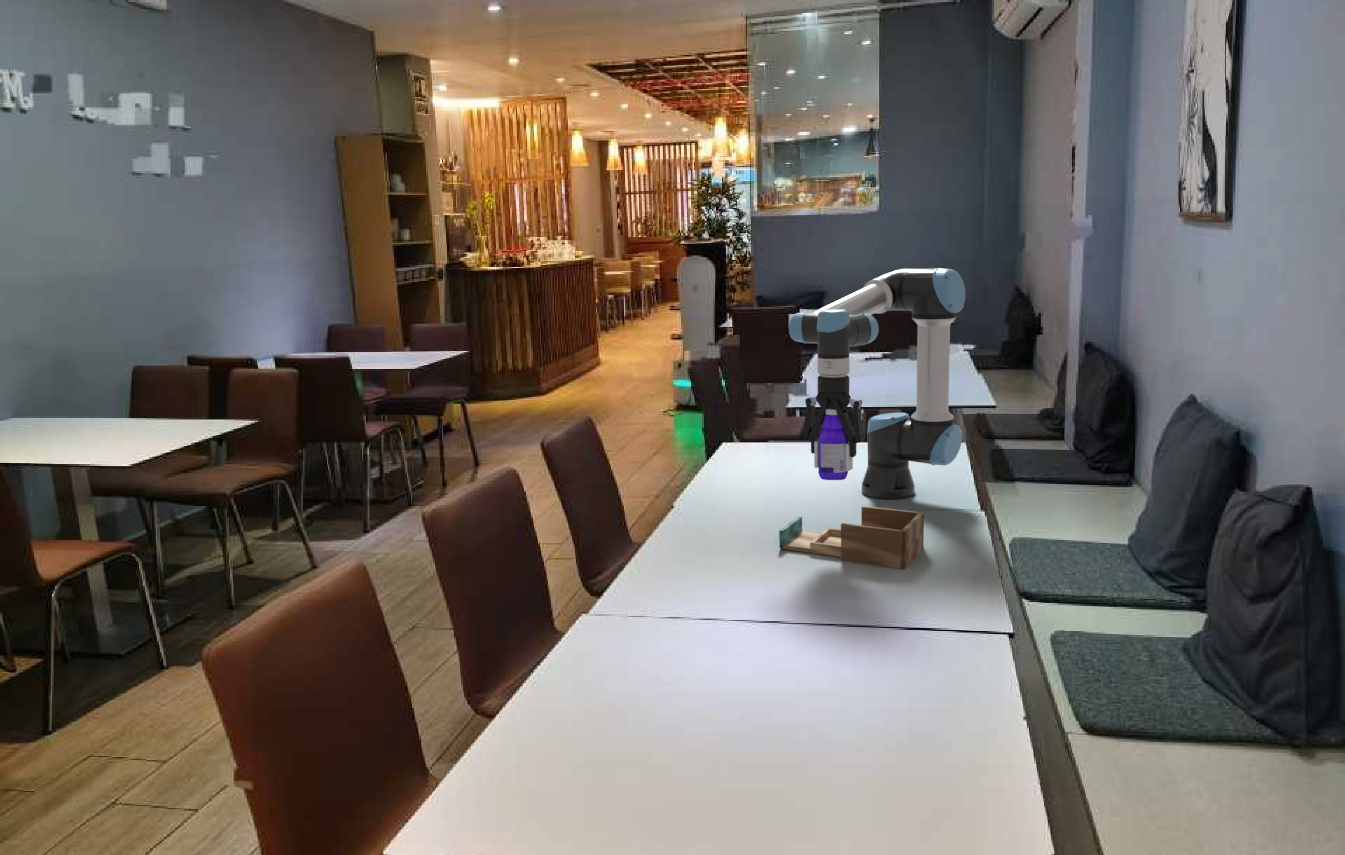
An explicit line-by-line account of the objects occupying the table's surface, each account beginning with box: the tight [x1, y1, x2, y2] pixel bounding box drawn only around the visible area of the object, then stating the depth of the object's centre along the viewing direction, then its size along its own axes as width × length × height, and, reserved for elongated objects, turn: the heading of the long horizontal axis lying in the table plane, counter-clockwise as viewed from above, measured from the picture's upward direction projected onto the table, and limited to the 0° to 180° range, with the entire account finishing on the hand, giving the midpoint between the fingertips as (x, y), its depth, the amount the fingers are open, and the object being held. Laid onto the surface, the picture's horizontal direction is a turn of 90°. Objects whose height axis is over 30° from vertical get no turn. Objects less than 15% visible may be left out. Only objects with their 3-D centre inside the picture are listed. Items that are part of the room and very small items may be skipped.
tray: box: [778, 516, 841, 558], centre depth 237 cm, size 12×21×5 cm, turn 61°
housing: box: [840, 505, 925, 570], centre depth 230 cm, size 16×15×9 cm
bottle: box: [817, 409, 849, 481], centre depth 234 cm, size 7×6×17 cm
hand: (833, 467), depth 235 cm, fingers closed on bottle, 7 cm apart
